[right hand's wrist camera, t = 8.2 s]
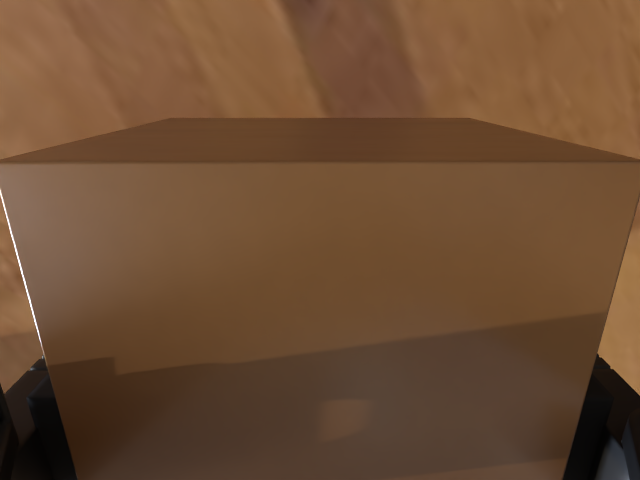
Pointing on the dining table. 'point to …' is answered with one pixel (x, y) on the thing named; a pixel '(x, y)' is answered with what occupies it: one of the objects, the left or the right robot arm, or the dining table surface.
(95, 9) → the dining table surface
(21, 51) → the dining table surface
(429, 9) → the dining table surface
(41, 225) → the thick board
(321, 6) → the dining table surface
